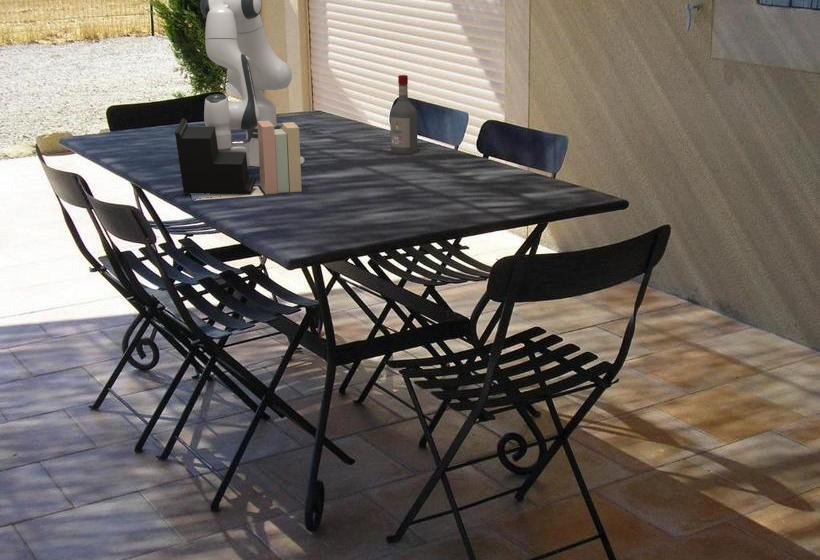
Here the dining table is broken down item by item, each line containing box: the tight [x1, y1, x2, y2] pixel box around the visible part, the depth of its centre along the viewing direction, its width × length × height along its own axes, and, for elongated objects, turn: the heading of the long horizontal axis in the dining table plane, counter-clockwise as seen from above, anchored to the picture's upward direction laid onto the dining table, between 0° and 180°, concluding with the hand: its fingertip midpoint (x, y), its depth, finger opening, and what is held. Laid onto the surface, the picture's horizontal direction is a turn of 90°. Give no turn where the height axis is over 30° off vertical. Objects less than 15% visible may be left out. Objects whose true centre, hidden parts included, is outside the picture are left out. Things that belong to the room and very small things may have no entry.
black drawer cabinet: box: [174, 117, 257, 194], centre depth 410 cm, size 23×11×24 cm, turn 85°
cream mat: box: [195, 186, 264, 201], centre depth 414 cm, size 24×14×1 cm, turn 105°
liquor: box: [389, 74, 419, 156], centre depth 474 cm, size 9×9×30 cm
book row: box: [257, 121, 303, 195], centre depth 416 cm, size 12×12×23 cm
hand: (221, 182), depth 423 cm, fingers closed
